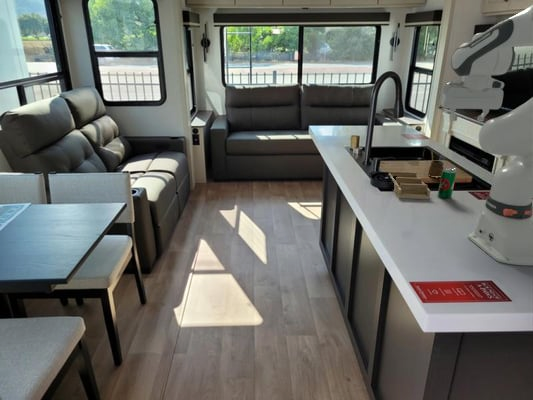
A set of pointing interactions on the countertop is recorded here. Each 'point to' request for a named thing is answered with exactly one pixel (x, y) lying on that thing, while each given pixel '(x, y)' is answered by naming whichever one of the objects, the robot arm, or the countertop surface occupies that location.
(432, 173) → the utensil holder
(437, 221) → the countertop surface
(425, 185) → the rack
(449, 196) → the soda can
